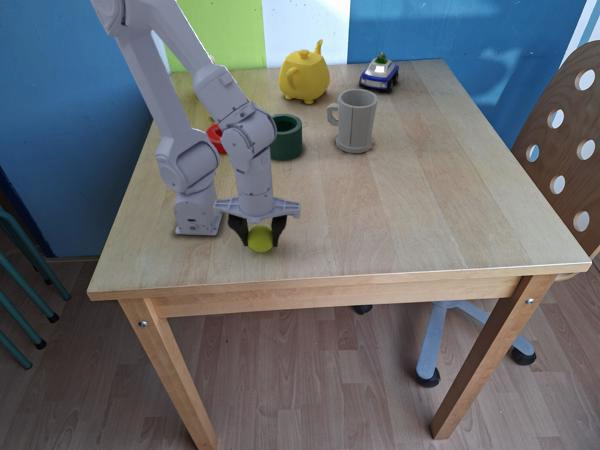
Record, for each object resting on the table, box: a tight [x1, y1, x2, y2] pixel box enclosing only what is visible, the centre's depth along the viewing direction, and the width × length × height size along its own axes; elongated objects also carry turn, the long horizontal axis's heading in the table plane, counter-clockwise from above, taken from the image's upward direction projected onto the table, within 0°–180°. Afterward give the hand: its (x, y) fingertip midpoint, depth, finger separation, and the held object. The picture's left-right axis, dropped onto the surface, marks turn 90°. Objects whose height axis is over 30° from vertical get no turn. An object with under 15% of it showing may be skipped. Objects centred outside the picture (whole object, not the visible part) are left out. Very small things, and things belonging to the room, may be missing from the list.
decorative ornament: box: [205, 123, 227, 154], centre depth 102 cm, size 10×10×3 cm
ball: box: [247, 224, 273, 254], centre depth 76 cm, size 5×5×5 cm
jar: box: [268, 113, 303, 162], centre depth 98 cm, size 9×9×7 cm
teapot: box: [277, 39, 331, 105], centre depth 117 cm, size 13×20×12 cm
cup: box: [326, 88, 379, 154], centre depth 98 cm, size 10×9×12 cm
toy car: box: [358, 51, 400, 93], centre depth 121 cm, size 9×12×10 cm
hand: (261, 242), depth 77 cm, fingers closed on ball, 5 cm apart
